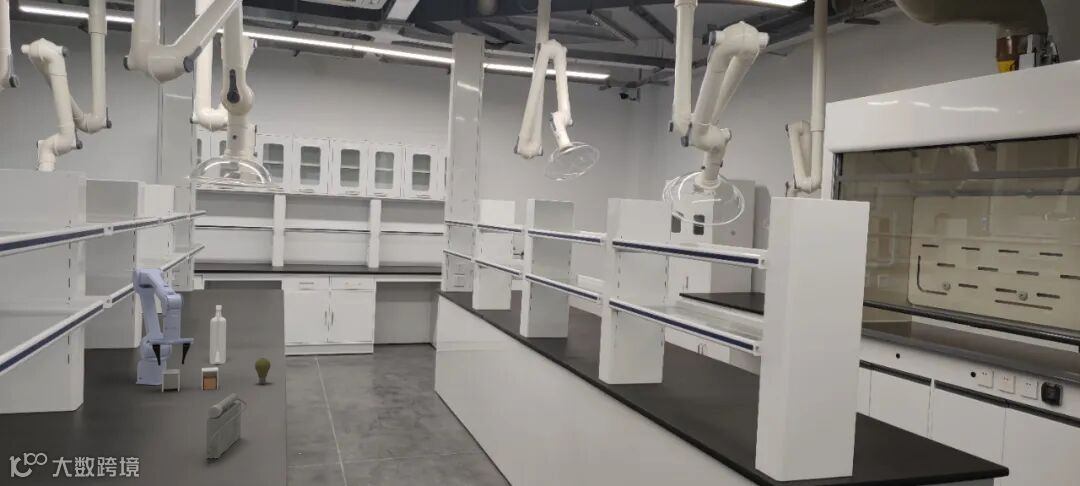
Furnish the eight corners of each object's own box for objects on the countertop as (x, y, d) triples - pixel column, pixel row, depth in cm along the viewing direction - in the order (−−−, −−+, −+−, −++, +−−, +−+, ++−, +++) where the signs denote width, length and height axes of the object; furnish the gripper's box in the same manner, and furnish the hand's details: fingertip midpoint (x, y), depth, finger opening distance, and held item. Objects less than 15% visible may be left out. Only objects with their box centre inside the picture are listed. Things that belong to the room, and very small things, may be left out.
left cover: (161, 392, 270) (162, 373, 270) (162, 388, 275) (162, 370, 275) (179, 391, 273) (179, 372, 272) (179, 387, 278) (179, 369, 277)
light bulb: (264, 386, 285) (265, 360, 284) (251, 385, 286) (252, 358, 286) (273, 383, 290) (273, 357, 290) (259, 381, 291) (260, 356, 291)
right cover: (201, 390, 276) (201, 371, 275) (201, 386, 281) (201, 368, 280) (218, 389, 278) (218, 370, 278) (217, 385, 283) (218, 367, 283)
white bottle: (207, 365, 317) (209, 306, 317) (209, 361, 328) (212, 303, 328) (224, 365, 319) (227, 306, 319) (226, 360, 330) (228, 304, 330)
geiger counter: (227, 390, 221) (195, 412, 196) (249, 390, 221) (220, 412, 196) (226, 437, 221) (194, 465, 196) (248, 437, 222) (219, 465, 197)
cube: (203, 389, 277) (204, 379, 277) (203, 387, 280) (203, 376, 280) (215, 389, 278) (215, 378, 278) (215, 386, 282) (215, 376, 282)
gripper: (148, 329, 266) (148, 367, 267) (193, 328, 272) (193, 365, 273) (149, 326, 273) (149, 363, 273) (193, 325, 279) (193, 361, 279)
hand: (171, 364), depth 274 cm, fingers open, 7 cm apart
